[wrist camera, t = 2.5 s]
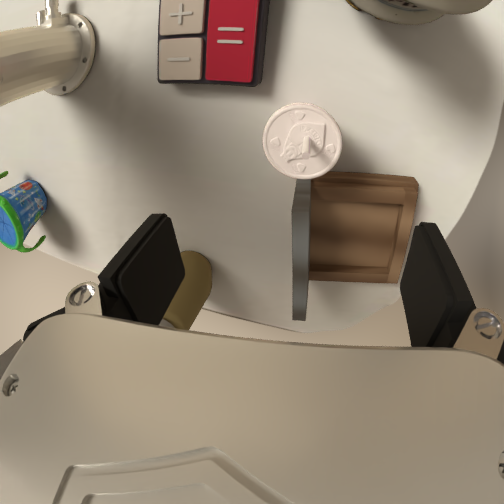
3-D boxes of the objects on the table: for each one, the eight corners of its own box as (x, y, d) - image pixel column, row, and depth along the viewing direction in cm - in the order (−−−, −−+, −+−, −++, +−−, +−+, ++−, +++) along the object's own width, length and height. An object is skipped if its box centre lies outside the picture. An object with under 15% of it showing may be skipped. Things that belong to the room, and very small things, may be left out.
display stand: (298, 170, 33) (291, 212, 25) (413, 177, 30) (442, 220, 22) (299, 265, 41) (292, 320, 33) (395, 269, 38) (408, 323, 30)
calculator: (153, 85, 26) (158, -39, 16) (171, 79, 29) (176, -32, 20) (255, 88, 25) (268, -47, 15) (262, 83, 28) (274, -36, 19)
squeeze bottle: (164, 269, 47) (113, 357, 33) (178, 234, 42) (117, 329, 28) (208, 291, 48) (168, 386, 34) (227, 260, 43) (185, 364, 29)
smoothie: (346, 124, 28) (368, 167, 17) (304, 158, 32) (296, 221, 21) (305, 80, 26) (301, 92, 15) (263, 118, 30) (230, 158, 19)
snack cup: (68, 225, 46) (34, 259, 38) (41, 233, 49) (11, 264, 41) (32, 151, 37) (-10, 177, 29) (9, 169, 41) (-27, 194, 33)
